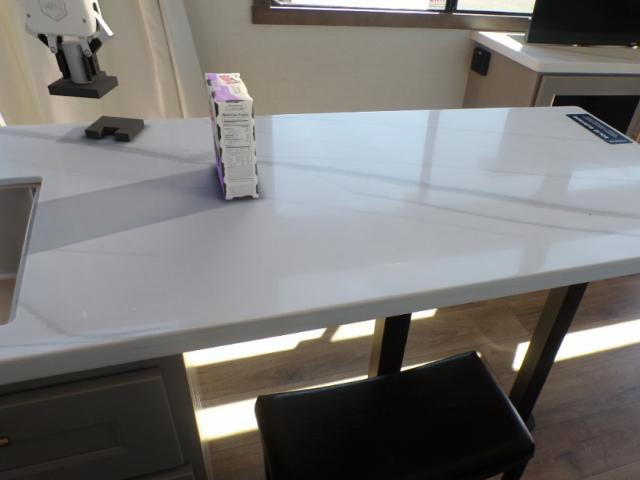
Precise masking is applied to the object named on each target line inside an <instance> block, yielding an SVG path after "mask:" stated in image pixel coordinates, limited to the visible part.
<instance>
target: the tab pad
mask: <svg viewBox="0 0 640 480" xmlns="http://www.w3.org/2000/svg"><path fill="white" fill-rule="evenodd" d="M61 44H62V47H63V51H64V54H65V57H66V61H67V64H68V68H69V71H70V75H71V78H70V79H68V80H67V79H64V78H63V76H62V77H60V78H58V79H56V80H54V81H53V82H52V83H50V84H48V85H47V86H46V88H47V90H48V93H49V95H50V96H57V97H68V98H69V97H71V98H83V99H95V100H100V99H102V98H103V97H105V96H106V95H107V94H109V92H111V91H113V90H114V89H115V88H116V87H118V86H119V80H118V77H117V76H116V75H107V71H106V70H100V71H101V73H100V77H99V78H98V79H96V80H95V81H93V82H91V81H89V80H88V79H87V76H86V72H85V68H84V65H83V61H82V56H84V52H83V49H82V47H81V44H80V42H79V40H64V42H62V43H61Z"/></svg>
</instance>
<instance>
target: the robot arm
mask: <svg viewBox="0 0 640 480" xmlns="http://www.w3.org/2000/svg"><path fill="white" fill-rule="evenodd" d="M20 4H21V8H22V12H23V15H24V16H23V17H24V19H25V25H24V31H25V32H26V33H27V34H29V35H31V36H32V37H34V38H36V39H38V40H39V41H40V42H41V43H42V44H43V45H45V47H47V48H48V49H49V51H50V52H51V54H54V57H55V60H56V63H57V66H58V70H59V72H60V73H62V74H61V75H62V77H63V78H64V79H67V80H68V79H70V78H71V75H70V71H69V68H68V64H67V61H66V57H65V54H64V51H63V47H62V44H61V43H62V42H64V41H65V37H77V39H78V41H79V42H80V44H81V47H82V49H83V52H84V56H82V61H83V65H84V68H85V72H86V76H87V79H88V80H89V81H91V82H93V81H95V80H96V79H98V78H99V77H100V73H101V71H102V70H101V67H100V63H99V60H98V56H97V55H98V54H97V53H98V52H99V50H100V49H101V48H102V46H103V45H104V44H105V43H107V42H109V41H111V40H112V39H114V38H115V37H114V36H115V35H114V33H113V32H112V31H111V30H110V28H109V26H108V25H107V24H106V22H105V21H104V20H103V16H102V12H101V9H100V5H99V2H98V0H20ZM97 32H98V33H99V35H98V36H96V37H95V36H94V33H97Z"/></svg>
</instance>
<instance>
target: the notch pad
mask: <svg viewBox="0 0 640 480" xmlns="http://www.w3.org/2000/svg"><path fill="white" fill-rule="evenodd" d="M145 127H146V125H145V121H144V119H143V118H132V117H122V116H121V117H120V116H111V115H110V116H109V115H101V116H100V117H98V119H96V120H95V121H94V122H93V123H91V124H90V125H89V126H88V127H86V128H85V129H84V134H85V137H86V139H99V140H100V139H101V138H103V137H104V136H105V135H114V136H115V140H116V141H121V142H122V141H123V142H131V141H132V140H133V139H134V138H135V137H136V136H137V135H138V134H139V133H140V132H141V131H142V130H143V129H144V128H145Z"/></svg>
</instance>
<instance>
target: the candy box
mask: <svg viewBox="0 0 640 480" xmlns="http://www.w3.org/2000/svg"><path fill="white" fill-rule="evenodd" d="M204 77H205V87H206V93H207V101H208V109H209V116H210V123H211V131H212V140H213V148H214V157H215V166H216V171H217V174H218V177H219V182H220V185H221V190H222V193H223V197H224V200H225V201H226V200H244V199H245V200H246V199H259V197H260V195H259V194H260V193H259V179H258V178H259V177H258V165H257V164H258V163H257V149H256V148H257V146H256V129H255V128H256V127H255V114H254V113H255V112H254V99H253V98H252V97H251V95H250V93H249V90H248V88H247V86H246V84H245V82H244V81H243V78H242V76H241V74H240V72H205V73H204Z"/></svg>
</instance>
